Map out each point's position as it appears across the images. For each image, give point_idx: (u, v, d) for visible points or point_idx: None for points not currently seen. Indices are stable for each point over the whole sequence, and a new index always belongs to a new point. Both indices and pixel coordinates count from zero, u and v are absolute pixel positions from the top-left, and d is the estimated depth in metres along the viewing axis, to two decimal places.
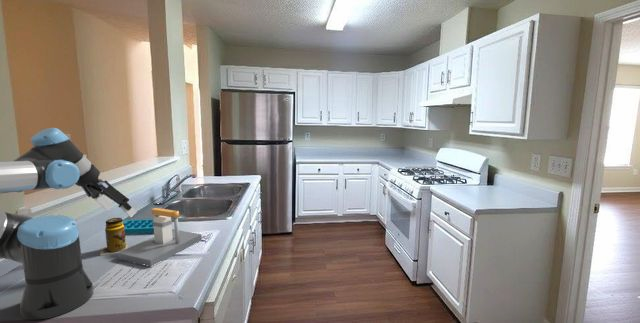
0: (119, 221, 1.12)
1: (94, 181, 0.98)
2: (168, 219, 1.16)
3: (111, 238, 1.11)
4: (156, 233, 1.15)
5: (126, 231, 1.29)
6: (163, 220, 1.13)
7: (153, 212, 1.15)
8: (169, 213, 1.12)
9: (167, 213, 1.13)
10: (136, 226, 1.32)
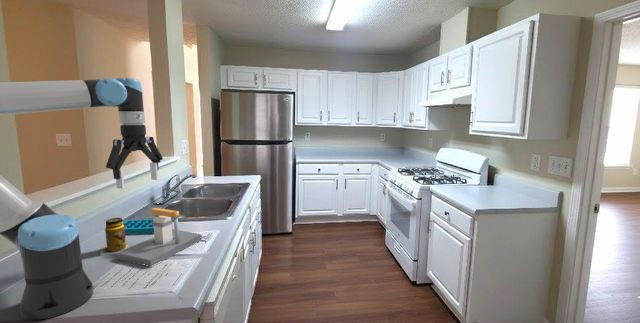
0: (119, 221, 1.12)
1: (122, 136, 1.01)
2: (168, 219, 1.16)
3: (112, 238, 1.11)
4: (156, 233, 1.15)
5: (126, 231, 1.29)
6: (163, 220, 1.13)
7: (153, 212, 1.15)
8: (169, 213, 1.12)
9: (167, 213, 1.13)
10: (136, 226, 1.32)
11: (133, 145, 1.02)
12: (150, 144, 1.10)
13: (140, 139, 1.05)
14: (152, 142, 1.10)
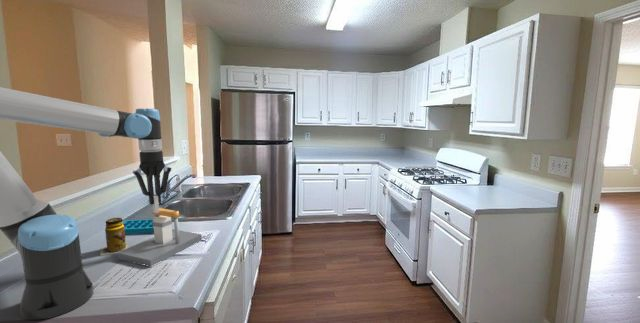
0: (119, 221, 1.12)
1: None
2: (168, 219, 1.16)
3: (111, 238, 1.11)
4: (156, 233, 1.15)
5: (126, 231, 1.29)
6: (163, 220, 1.13)
7: (154, 212, 1.15)
8: (169, 213, 1.12)
9: (167, 213, 1.13)
10: (136, 226, 1.32)
11: (150, 171, 1.09)
12: (164, 173, 1.14)
13: (159, 162, 1.11)
14: (167, 172, 1.14)
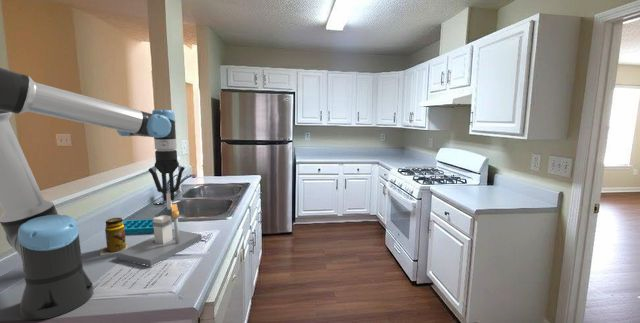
0: (119, 221, 1.12)
1: None
2: (168, 219, 1.16)
3: (111, 238, 1.11)
4: (156, 233, 1.15)
5: (126, 231, 1.29)
6: (163, 220, 1.13)
7: None
8: (172, 212, 1.14)
9: (172, 211, 1.15)
10: (136, 226, 1.32)
11: (162, 169, 1.14)
12: None
13: (172, 161, 1.16)
14: (180, 171, 1.17)
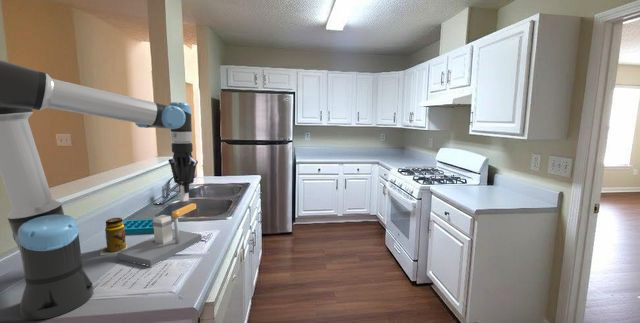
0: (119, 221, 1.12)
1: None
2: (168, 219, 1.16)
3: (111, 238, 1.11)
4: (156, 233, 1.15)
5: (126, 231, 1.28)
6: (163, 220, 1.13)
7: None
8: None
9: None
10: (136, 226, 1.32)
11: (176, 161, 1.17)
12: None
13: (184, 154, 1.16)
14: (190, 165, 1.15)
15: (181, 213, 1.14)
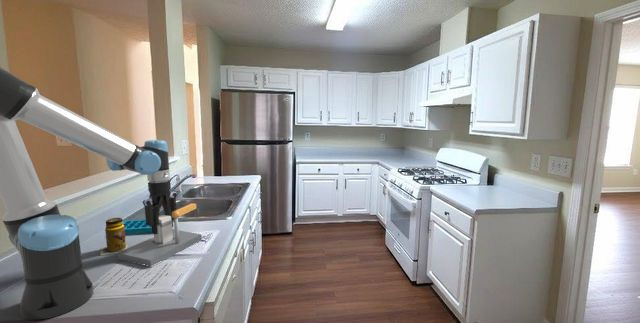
0: (119, 221, 1.12)
1: None
2: (168, 219, 1.16)
3: (112, 238, 1.11)
4: None
5: (127, 231, 1.28)
6: (163, 220, 1.13)
7: None
8: None
9: None
10: (136, 226, 1.32)
11: (160, 201, 1.12)
12: (171, 199, 1.19)
13: (166, 191, 1.15)
14: (174, 198, 1.19)
15: (181, 213, 1.14)
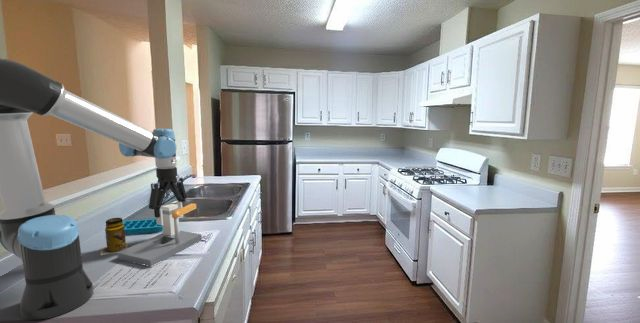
0: (119, 221, 1.12)
1: None
2: (175, 208, 1.22)
3: (112, 238, 1.11)
4: (163, 221, 1.21)
5: (127, 231, 1.28)
6: (170, 208, 1.20)
7: None
8: None
9: None
10: (136, 226, 1.32)
11: (167, 186, 1.18)
12: (179, 184, 1.26)
13: (172, 179, 1.21)
14: (181, 182, 1.26)
15: (181, 213, 1.14)
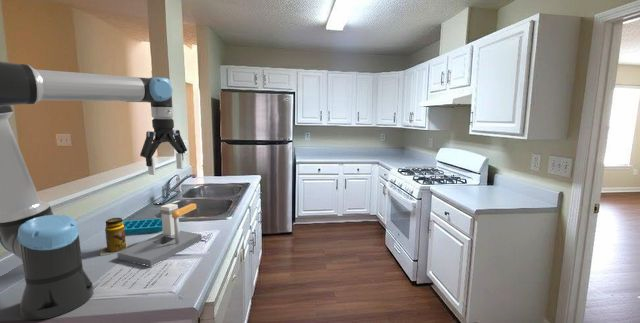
0: (119, 221, 1.12)
1: (154, 128, 1.14)
2: (175, 208, 1.22)
3: (111, 238, 1.11)
4: (163, 221, 1.21)
5: (127, 231, 1.28)
6: (170, 208, 1.20)
7: None
8: None
9: None
10: (136, 226, 1.32)
11: (163, 137, 1.15)
12: (176, 136, 1.23)
13: (168, 132, 1.18)
14: (178, 135, 1.23)
15: (181, 213, 1.14)
